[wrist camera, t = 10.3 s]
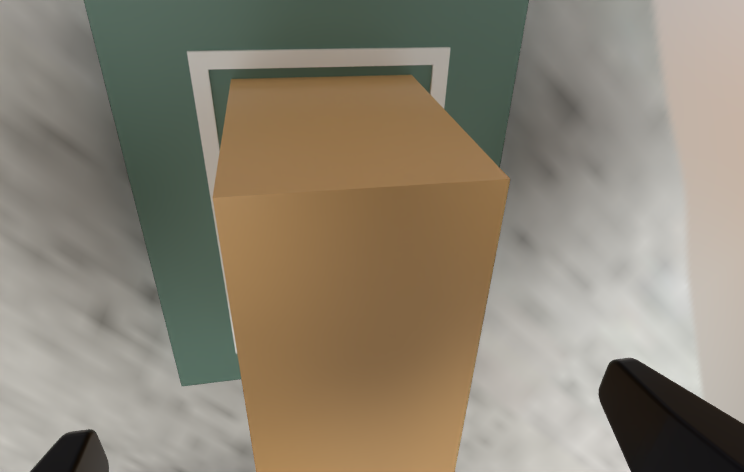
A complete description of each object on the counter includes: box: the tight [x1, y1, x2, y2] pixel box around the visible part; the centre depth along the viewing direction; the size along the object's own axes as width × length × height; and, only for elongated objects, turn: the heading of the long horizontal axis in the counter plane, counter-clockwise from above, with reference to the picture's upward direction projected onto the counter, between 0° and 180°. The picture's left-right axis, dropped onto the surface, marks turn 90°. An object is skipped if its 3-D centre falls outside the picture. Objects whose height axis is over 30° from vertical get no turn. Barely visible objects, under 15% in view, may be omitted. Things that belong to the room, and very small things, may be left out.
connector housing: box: [213, 75, 510, 472], centre depth 12 cm, size 8×4×6 cm, turn 179°
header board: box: [84, 0, 529, 386], centre depth 14 cm, size 12×10×4 cm
